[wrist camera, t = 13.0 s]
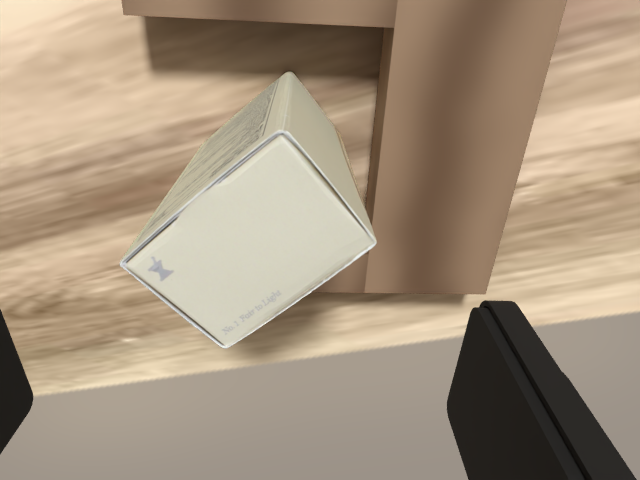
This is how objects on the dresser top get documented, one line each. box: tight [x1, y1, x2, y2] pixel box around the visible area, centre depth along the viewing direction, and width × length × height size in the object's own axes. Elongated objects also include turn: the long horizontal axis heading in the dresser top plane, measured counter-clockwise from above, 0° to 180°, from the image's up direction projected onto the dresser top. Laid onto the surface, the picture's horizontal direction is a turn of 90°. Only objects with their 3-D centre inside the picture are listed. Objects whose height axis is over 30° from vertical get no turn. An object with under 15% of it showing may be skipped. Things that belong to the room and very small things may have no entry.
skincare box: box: [120, 71, 377, 349], centre depth 17 cm, size 6×4×12 cm
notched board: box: [122, 0, 567, 294], centre depth 22 cm, size 18×16×2 cm
